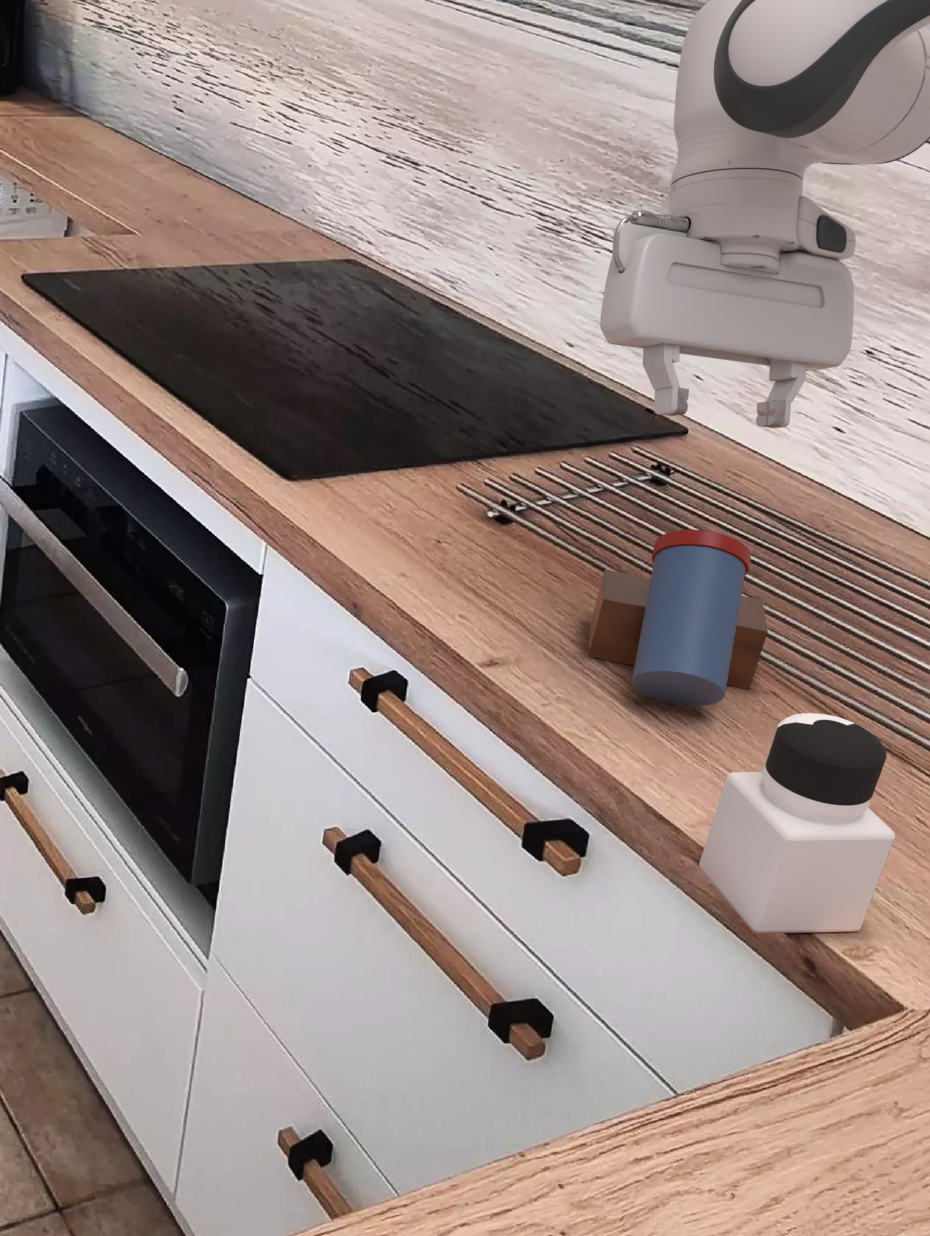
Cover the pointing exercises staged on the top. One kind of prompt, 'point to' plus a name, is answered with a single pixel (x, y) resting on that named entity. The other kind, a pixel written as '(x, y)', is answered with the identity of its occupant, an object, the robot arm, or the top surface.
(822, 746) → the medicine bottle
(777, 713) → the top surface
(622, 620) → the block
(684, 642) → the container
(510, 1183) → the top surface
